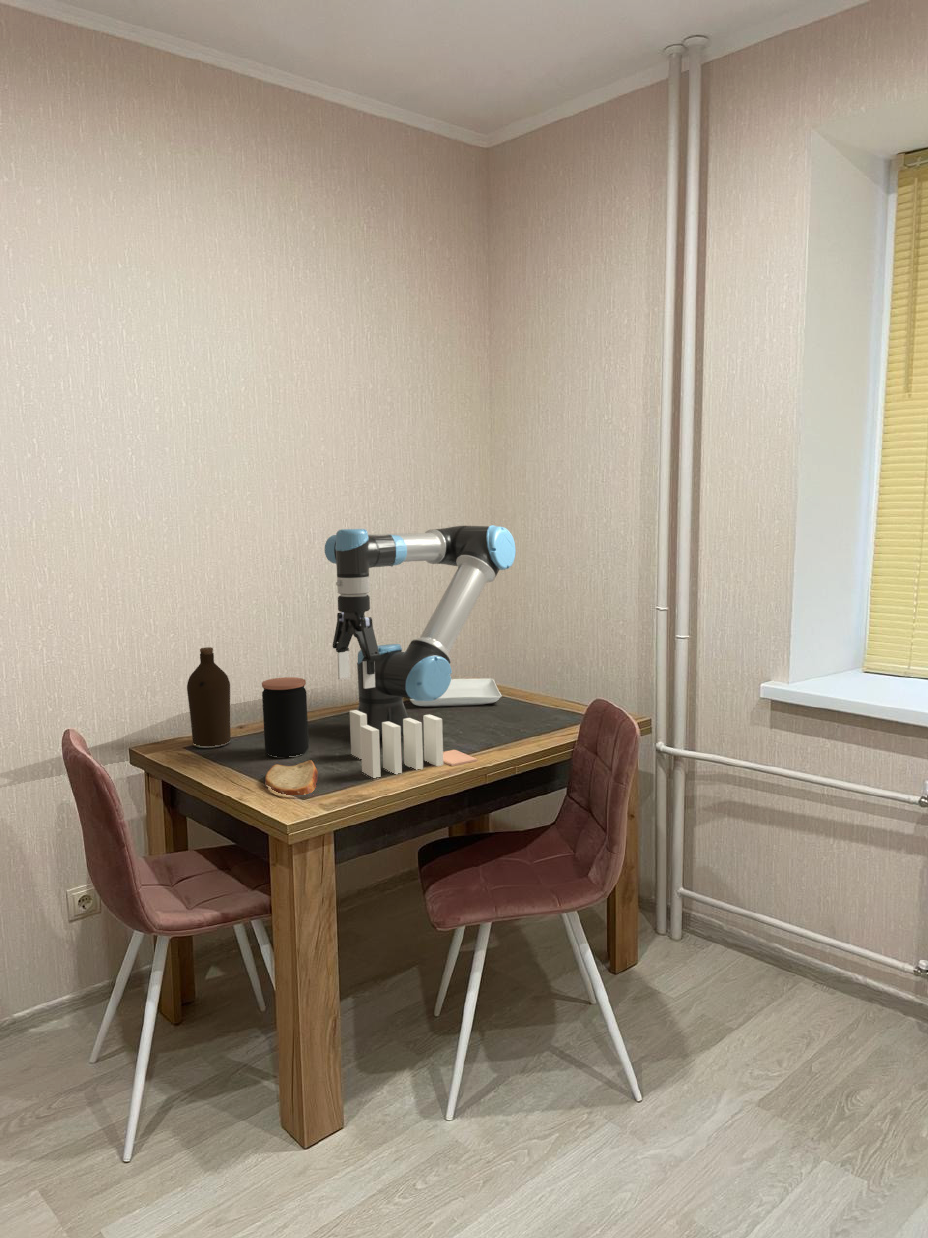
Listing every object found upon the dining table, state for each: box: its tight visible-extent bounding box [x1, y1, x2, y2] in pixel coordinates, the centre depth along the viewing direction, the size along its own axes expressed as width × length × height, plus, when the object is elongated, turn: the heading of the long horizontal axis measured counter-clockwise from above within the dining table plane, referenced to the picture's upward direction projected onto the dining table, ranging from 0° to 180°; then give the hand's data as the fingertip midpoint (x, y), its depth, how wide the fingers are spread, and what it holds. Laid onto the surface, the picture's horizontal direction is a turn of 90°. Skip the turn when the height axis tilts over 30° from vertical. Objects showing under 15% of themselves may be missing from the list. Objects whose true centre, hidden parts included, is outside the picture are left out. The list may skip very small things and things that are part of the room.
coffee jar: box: [261, 676, 310, 757], centre depth 231 cm, size 11×11×18 cm
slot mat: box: [443, 749, 478, 767], centre depth 224 cm, size 7×10×1 cm
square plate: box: [409, 677, 502, 708], centre depth 289 cm, size 27×27×4 cm
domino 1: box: [349, 709, 367, 760], centre depth 227 cm, size 2×6×11 cm, turn 33°
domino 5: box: [422, 713, 444, 767], centre depth 221 cm, size 2×6×11 cm, turn 33°
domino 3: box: [381, 721, 403, 775], centre depth 215 cm, size 2×6×11 cm, turn 33°
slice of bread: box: [264, 759, 319, 795], centre depth 208 cm, size 18×18×4 cm
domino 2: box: [361, 725, 382, 778], centre depth 212 cm, size 2×6×11 cm, turn 33°
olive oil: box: [186, 646, 232, 746], centre depth 240 cm, size 11×11×25 cm
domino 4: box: [403, 717, 424, 771], centre depth 218 cm, size 2×6×11 cm, turn 33°
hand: (356, 683), depth 225 cm, fingers open, 13 cm apart
